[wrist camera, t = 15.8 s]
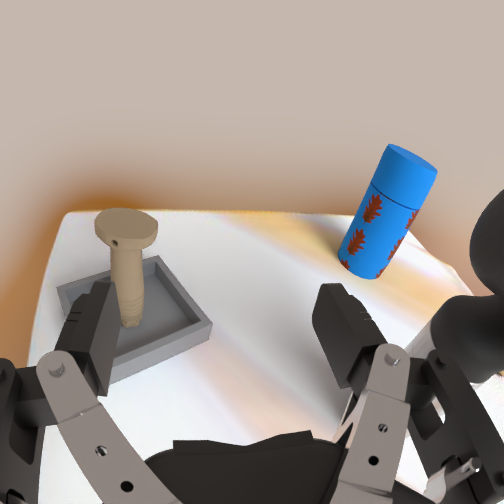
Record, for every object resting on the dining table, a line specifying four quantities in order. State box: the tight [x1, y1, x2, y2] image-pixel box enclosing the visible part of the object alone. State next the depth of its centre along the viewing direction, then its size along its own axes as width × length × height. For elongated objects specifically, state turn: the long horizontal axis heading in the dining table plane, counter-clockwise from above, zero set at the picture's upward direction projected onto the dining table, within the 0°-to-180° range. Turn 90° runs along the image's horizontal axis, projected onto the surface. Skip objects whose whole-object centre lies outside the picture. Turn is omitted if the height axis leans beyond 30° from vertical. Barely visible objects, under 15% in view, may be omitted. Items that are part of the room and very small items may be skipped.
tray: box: [56, 255, 213, 385], centre depth 36 cm, size 16×14×4 cm
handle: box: [95, 208, 158, 328], centre depth 32 cm, size 5×6×15 cm
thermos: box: [338, 144, 437, 279], centre depth 55 cm, size 11×11×25 cm
